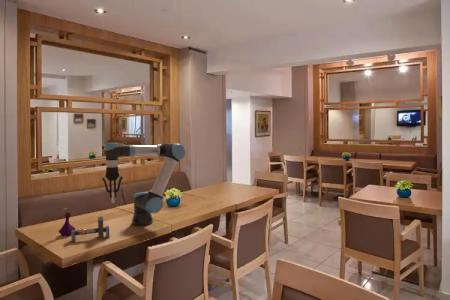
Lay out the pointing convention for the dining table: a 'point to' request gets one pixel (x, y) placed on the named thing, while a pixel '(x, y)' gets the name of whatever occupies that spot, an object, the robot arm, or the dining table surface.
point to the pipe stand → (88, 232)
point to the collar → (100, 227)
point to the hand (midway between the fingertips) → (113, 202)
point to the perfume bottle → (66, 225)
